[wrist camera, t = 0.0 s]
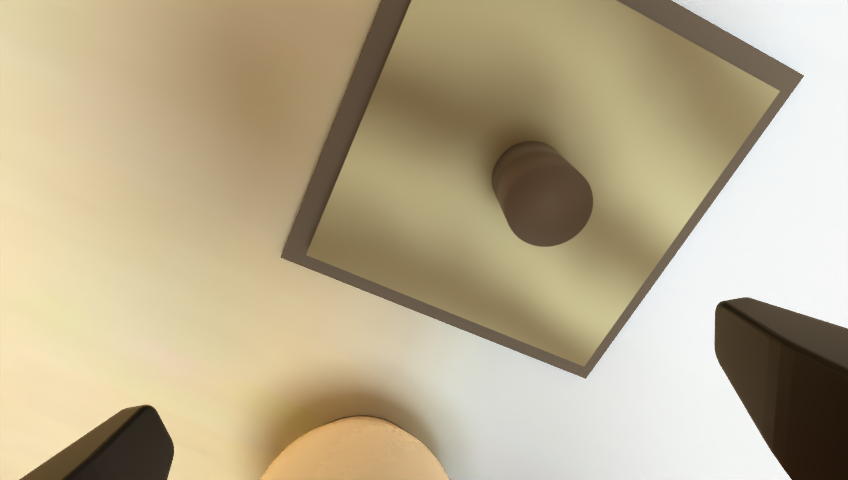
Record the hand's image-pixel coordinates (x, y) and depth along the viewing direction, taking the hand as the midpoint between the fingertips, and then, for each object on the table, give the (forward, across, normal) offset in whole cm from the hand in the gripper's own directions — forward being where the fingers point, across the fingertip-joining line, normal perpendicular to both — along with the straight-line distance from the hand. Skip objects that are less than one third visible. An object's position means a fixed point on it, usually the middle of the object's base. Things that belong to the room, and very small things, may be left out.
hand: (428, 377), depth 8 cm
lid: (+14, -4, +2) cm, 15 cm away
